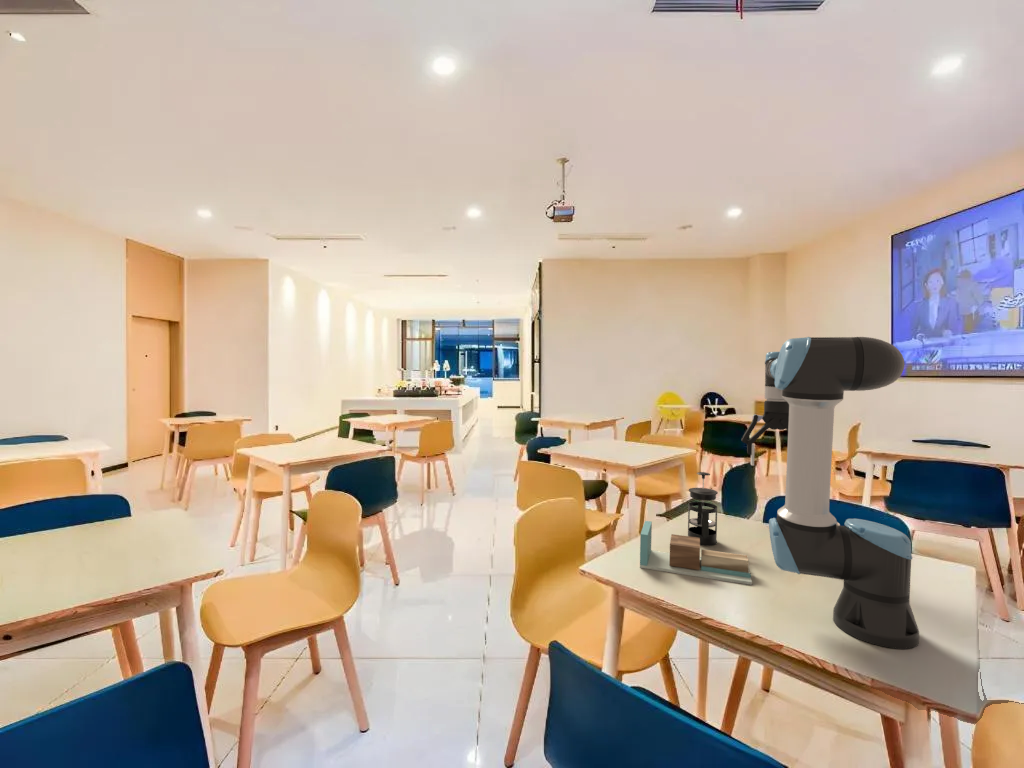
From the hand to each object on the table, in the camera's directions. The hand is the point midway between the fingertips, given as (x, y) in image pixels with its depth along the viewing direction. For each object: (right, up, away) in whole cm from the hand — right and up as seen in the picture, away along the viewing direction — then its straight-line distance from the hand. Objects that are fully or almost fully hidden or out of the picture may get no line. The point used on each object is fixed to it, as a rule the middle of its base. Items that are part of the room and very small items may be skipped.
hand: (776, 466), depth 152 cm
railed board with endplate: (-32, -27, -14) cm, 44 cm away
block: (-34, -26, -13) cm, 44 cm away
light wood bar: (-24, -26, -17) cm, 39 cm away
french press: (-21, -26, +7) cm, 34 cm away
